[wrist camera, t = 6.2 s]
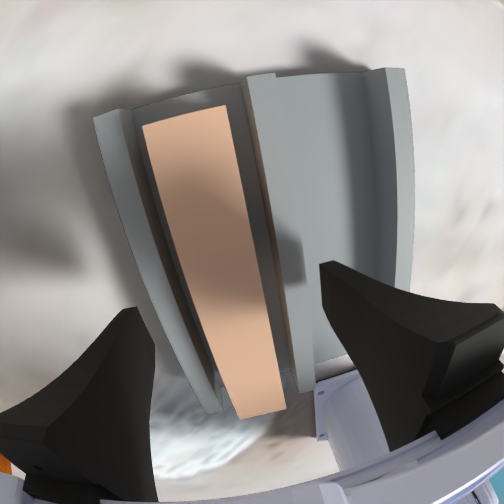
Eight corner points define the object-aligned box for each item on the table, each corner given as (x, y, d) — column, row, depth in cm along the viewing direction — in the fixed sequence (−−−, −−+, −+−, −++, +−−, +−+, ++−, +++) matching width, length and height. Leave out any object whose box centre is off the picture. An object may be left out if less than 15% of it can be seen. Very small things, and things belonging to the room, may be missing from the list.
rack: (384, 329, 19) (404, 357, 16) (197, 379, 18) (198, 416, 16) (377, 73, 12) (413, 69, 9) (105, 120, 11) (80, 122, 9)
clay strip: (273, 363, 17) (286, 408, 14) (232, 373, 17) (239, 419, 14) (219, 109, 11) (225, 105, 8) (159, 124, 11) (142, 126, 8)
